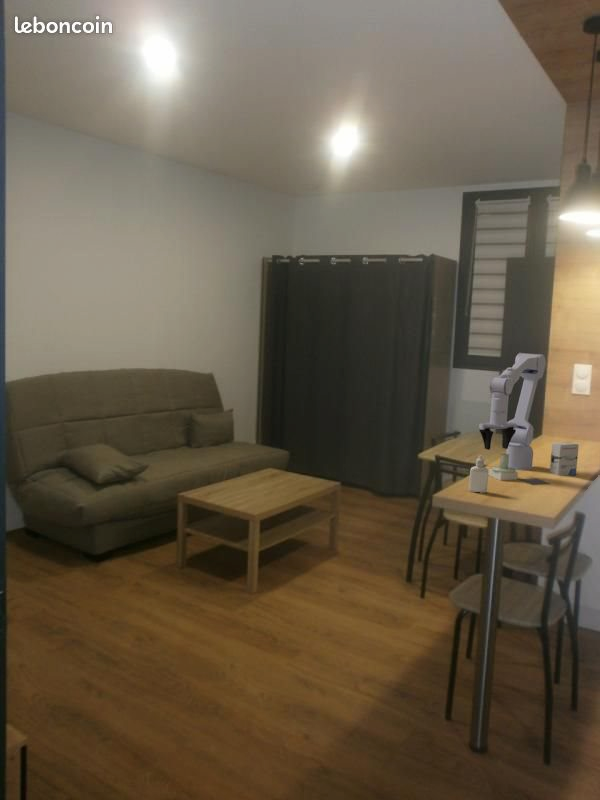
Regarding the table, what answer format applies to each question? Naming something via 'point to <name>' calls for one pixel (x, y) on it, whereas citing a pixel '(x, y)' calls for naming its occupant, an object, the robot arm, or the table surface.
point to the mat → (534, 481)
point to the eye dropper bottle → (478, 477)
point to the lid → (504, 465)
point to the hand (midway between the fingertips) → (496, 448)
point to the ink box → (564, 458)
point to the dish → (503, 475)
